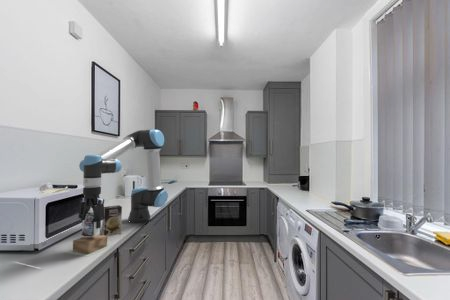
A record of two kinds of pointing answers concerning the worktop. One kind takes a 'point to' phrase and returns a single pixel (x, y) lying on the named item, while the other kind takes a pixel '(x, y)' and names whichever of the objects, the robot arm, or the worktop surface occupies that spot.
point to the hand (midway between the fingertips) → (90, 234)
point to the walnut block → (89, 244)
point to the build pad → (88, 254)
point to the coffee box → (112, 220)
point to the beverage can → (89, 225)
